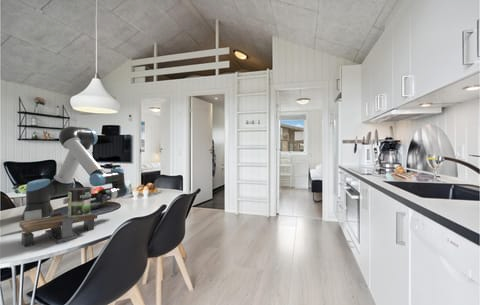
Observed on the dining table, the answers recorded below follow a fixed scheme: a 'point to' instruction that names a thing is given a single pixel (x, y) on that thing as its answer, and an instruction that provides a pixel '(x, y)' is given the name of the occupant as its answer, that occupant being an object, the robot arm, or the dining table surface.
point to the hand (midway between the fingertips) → (73, 202)
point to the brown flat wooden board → (52, 222)
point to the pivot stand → (58, 231)
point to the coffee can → (78, 201)
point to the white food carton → (32, 215)
